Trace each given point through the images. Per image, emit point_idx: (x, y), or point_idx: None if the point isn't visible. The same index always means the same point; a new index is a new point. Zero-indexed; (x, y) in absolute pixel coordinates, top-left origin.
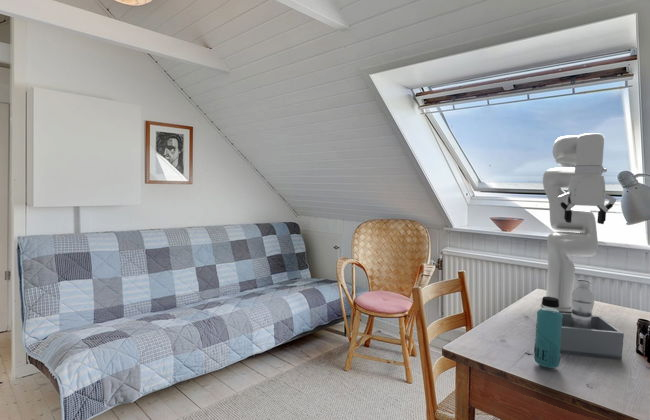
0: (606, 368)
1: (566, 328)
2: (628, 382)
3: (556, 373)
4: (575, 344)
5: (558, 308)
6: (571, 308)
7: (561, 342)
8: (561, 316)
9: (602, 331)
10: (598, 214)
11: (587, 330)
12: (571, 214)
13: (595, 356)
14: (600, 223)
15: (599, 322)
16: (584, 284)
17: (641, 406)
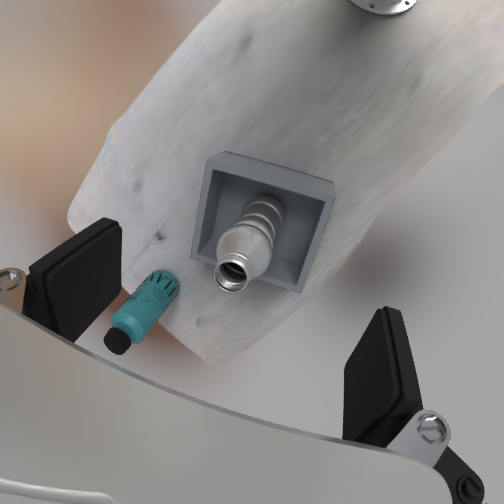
0: (254, 289)
1: (202, 261)
2: (256, 322)
3: None
4: None
5: (360, 2)
6: (396, 6)
7: (164, 311)
8: (139, 342)
9: (264, 281)
10: (382, 379)
11: None
12: (81, 332)
13: None
14: (351, 354)
15: (323, 204)
16: (225, 286)
17: (230, 358)
